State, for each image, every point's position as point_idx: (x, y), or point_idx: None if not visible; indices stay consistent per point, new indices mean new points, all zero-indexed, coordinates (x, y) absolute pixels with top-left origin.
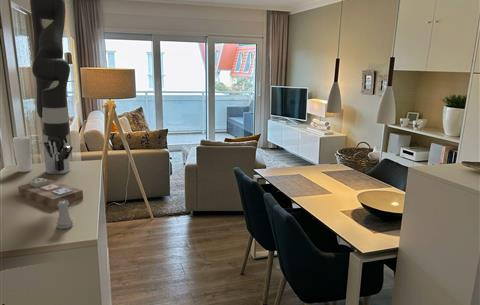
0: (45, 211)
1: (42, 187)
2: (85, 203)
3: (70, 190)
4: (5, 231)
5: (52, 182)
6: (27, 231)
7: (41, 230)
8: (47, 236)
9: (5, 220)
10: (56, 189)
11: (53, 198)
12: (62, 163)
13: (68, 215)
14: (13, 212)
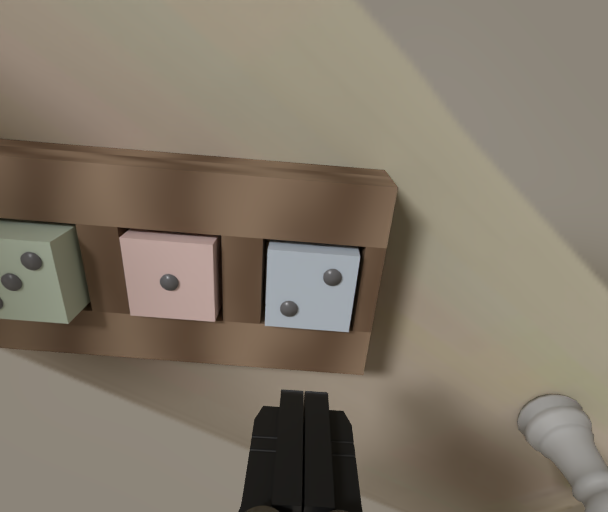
0: None
1: (144, 311)
2: (447, 208)
3: (352, 260)
4: (379, 501)
5: (50, 188)
6: (445, 479)
7: (485, 460)
8: (541, 473)
9: None
10: (228, 271)
11: (356, 367)
12: (356, 492)
13: (598, 452)
14: (242, 423)
